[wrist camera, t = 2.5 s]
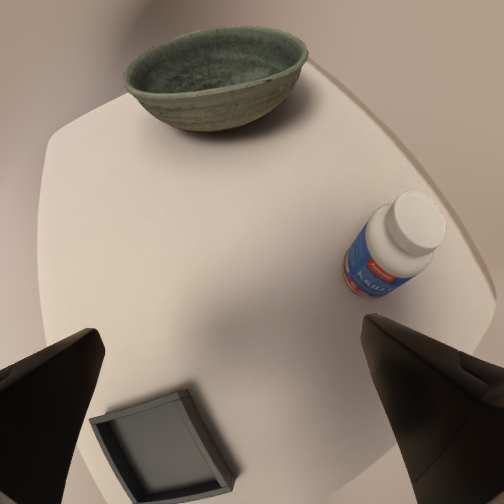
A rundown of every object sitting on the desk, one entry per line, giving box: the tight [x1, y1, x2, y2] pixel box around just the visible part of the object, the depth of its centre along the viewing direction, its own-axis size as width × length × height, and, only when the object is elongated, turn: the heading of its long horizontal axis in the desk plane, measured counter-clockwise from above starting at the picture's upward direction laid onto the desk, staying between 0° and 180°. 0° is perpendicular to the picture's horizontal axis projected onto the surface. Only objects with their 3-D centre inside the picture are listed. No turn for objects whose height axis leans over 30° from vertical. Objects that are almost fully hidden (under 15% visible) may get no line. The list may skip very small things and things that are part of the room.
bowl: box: [123, 26, 308, 133], centre depth 28 cm, size 21×21×10 cm
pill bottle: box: [343, 191, 446, 299], centre depth 18 cm, size 6×5×10 cm
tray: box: [89, 389, 236, 504], centre depth 16 cm, size 9×9×3 cm
